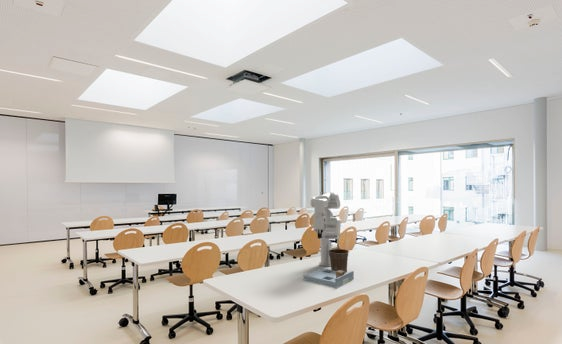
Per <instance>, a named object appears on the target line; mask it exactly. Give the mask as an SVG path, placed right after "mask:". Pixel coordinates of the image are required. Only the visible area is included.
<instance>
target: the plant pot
mask: <svg viewBox="0 0 562 344" xmlns="http://www.w3.org/2000/svg"><path fill="white" fill-rule="evenodd" d="M328 252H329V256H330V262H331V266H330V270H333V271H338V270H341V271H345V273H348V260H349V259H348V257H349V253H350V251H349V250H348V249H343V248H342V249H341V248H335V249H334V248H333V249H332V250H329V251H328Z"/></svg>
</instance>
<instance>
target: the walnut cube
mask: <svg viewBox="0 0 562 344" xmlns="http://www.w3.org/2000/svg"><path fill="white" fill-rule="evenodd" d="M344 274H345V271H341V270H338V271H336V278H338V277H340V276H342V275H344Z"/></svg>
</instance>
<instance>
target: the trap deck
mask: <svg viewBox="0 0 562 344" xmlns="http://www.w3.org/2000/svg"><path fill="white" fill-rule="evenodd" d="M354 273H355V272H354V270H351V271H349V272H348V271H347V272H346V273H345V274H344V275H342V276H340V277H338V278H336V271H333V270H331V269H328V268H319V269H316V270H313V271H310V272H308V273H306V274H303V280H304V279H305V280H304V281H308V280H309V282H314V283H318V284H322V285H326V286H329V287H330V286H331V287H335V288H338V287H341V286H343V285H345V284H346V283H348V282H349V281H352V280H354V279H355V278H354V275H355V274H354Z"/></svg>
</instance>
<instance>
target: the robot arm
mask: <svg viewBox="0 0 562 344" xmlns="http://www.w3.org/2000/svg"><path fill="white" fill-rule="evenodd" d="M310 206H311V207H312V208H313V209H314V216H313V221H312V223H313V224H312V227H313V230H314V231H316V232H315V233H317V239H319V240H320V241H319V242H320V261H319V263H318V264H319V265H320V266H322V267H331V262H330V256H329V252H328V251H329V250H332V248H333V247H332V246H333V244H332V241H331V240H339V238H340V235H341V226H342V225H341V223H342V222H341V219H340V218H338V217H334V214H333V212H332V211H331V209H332V210H335V209H340V208H341V201H340V197H339V194H338V193H337V192H324V193H322V194H321V195H317V196H313V197H312V198H311V199H310Z"/></svg>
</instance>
